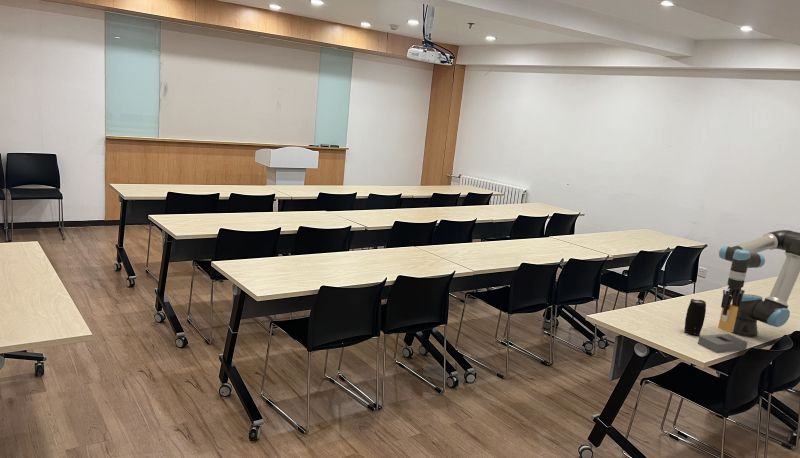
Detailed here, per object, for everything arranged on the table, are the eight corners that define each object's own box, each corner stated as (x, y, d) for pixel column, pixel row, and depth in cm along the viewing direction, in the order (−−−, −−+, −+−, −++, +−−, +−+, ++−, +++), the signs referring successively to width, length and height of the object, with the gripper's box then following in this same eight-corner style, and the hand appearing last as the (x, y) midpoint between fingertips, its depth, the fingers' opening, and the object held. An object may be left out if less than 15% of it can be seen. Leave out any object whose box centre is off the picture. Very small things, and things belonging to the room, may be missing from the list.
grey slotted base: (697, 343, 321) (699, 335, 320) (726, 341, 329) (728, 333, 329) (716, 352, 310) (718, 344, 309) (745, 350, 319) (747, 342, 318)
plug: (717, 328, 320) (723, 303, 317) (723, 327, 321) (728, 303, 319) (727, 332, 314) (733, 307, 312) (732, 331, 316) (738, 307, 313)
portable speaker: (699, 337, 331) (705, 304, 327) (681, 332, 336) (687, 300, 332) (702, 334, 337) (709, 301, 333) (684, 329, 343) (691, 297, 339)
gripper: (731, 281, 305) (722, 323, 310) (754, 280, 312) (744, 322, 317) (718, 276, 312) (710, 318, 317) (741, 276, 319) (732, 317, 323)
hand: (727, 320), depth 317 cm, fingers closed on plug, 4 cm apart
